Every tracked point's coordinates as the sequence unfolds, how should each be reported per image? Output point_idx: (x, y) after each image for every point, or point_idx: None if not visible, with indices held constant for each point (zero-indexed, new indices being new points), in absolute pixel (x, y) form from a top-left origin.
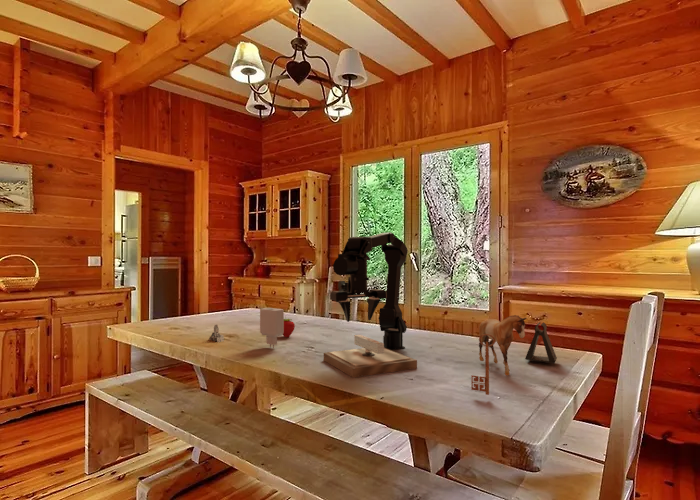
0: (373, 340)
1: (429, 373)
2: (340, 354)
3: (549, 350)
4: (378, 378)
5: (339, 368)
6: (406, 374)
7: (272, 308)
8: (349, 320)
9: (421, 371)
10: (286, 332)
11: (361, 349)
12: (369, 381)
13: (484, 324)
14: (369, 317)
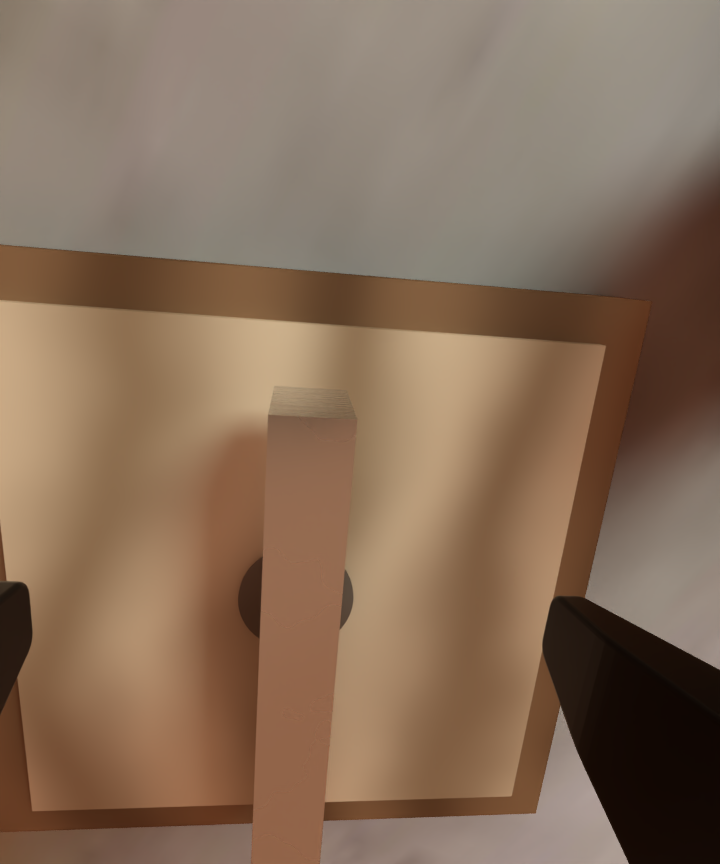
0: (301, 788)
1: (495, 858)
2: (54, 462)
3: None
4: (175, 835)
5: None
6: (371, 831)
7: None
8: (16, 676)
9: (487, 817)
10: None
11: (362, 375)
12: (95, 860)
13: None
14: (567, 686)
